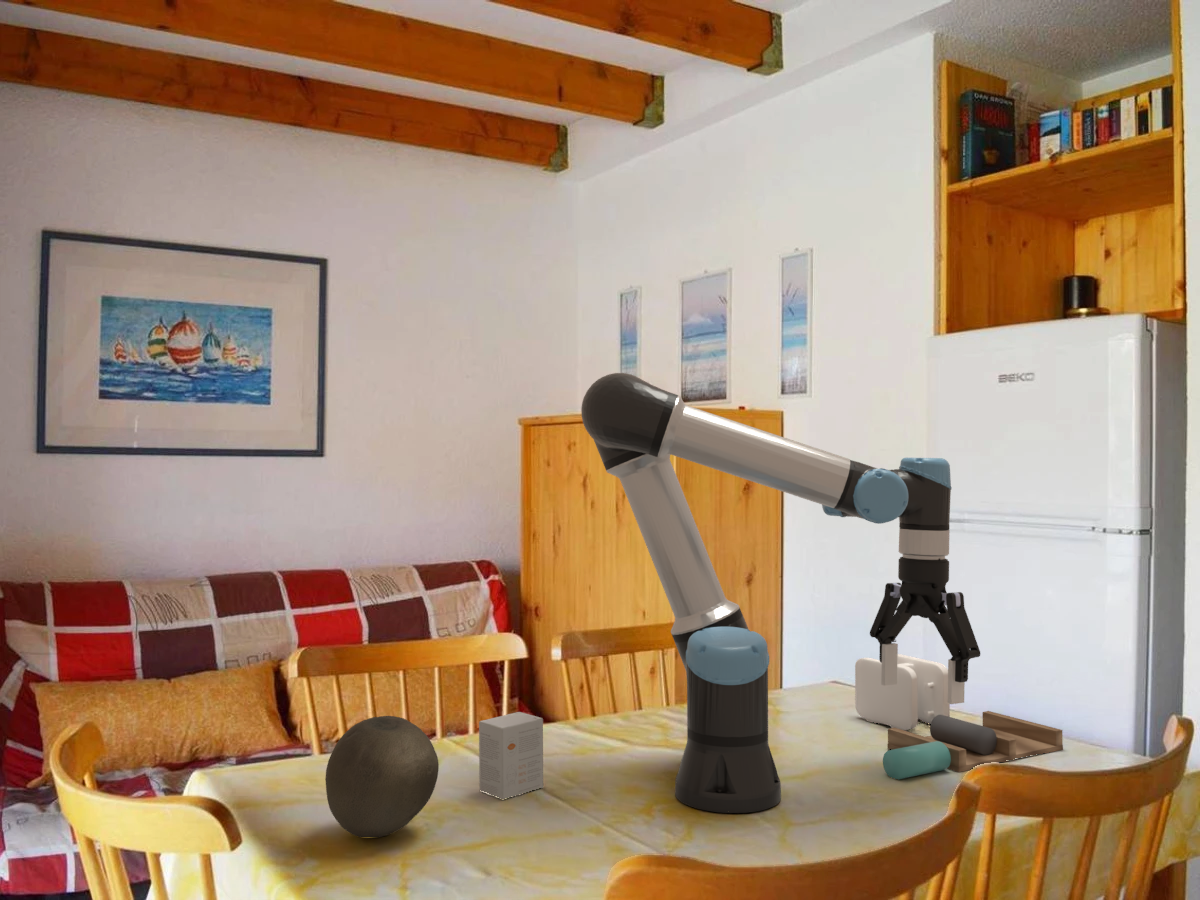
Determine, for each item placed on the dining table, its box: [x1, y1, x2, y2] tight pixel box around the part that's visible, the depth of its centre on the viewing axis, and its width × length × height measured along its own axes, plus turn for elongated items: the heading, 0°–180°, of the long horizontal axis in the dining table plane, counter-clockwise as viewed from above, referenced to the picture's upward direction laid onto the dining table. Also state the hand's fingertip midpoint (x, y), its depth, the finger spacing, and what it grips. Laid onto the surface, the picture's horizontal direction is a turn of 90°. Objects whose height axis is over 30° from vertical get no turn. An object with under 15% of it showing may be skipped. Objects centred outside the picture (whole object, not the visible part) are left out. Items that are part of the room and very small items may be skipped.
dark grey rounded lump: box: [324, 715, 440, 838], centre depth 132 cm, size 14×14×15 cm
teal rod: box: [882, 741, 951, 781], centre depth 158 cm, size 10×4×4 cm
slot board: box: [886, 710, 1064, 773], centre depth 171 cm, size 25×15×3 cm, turn 119°
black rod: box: [929, 715, 997, 755], centre depth 169 cm, size 10×4×4 cm, turn 29°
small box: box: [478, 711, 544, 799], centre depth 150 cm, size 8×6×10 cm
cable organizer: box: [854, 653, 951, 731], centre depth 189 cm, size 15×11×12 cm
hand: (921, 693), depth 158 cm, fingers open, 13 cm apart
